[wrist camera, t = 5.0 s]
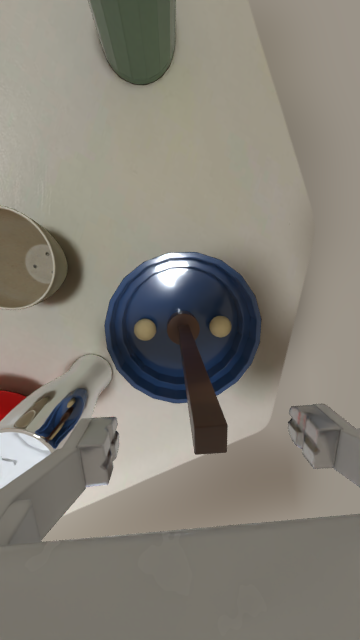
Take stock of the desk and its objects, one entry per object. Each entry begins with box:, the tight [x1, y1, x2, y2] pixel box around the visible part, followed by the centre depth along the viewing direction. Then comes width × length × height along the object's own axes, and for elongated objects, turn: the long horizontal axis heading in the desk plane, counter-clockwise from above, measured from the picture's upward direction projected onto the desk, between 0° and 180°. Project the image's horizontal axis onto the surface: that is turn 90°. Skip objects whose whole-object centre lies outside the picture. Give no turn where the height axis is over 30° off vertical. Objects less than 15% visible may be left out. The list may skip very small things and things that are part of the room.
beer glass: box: [0, 354, 112, 489], centre depth 22 cm, size 7×7×15 cm
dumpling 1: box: [134, 319, 156, 341], centre depth 26 cm, size 3×3×3 cm
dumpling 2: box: [209, 316, 231, 337], centre depth 27 cm, size 3×3×3 cm
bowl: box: [105, 252, 261, 403], centre depth 26 cm, size 19×19×5 cm
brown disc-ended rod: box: [167, 311, 227, 455], centre depth 18 cm, size 4×4×20 cm
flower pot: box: [0, 205, 67, 310], centre depth 22 cm, size 10×10×7 cm
